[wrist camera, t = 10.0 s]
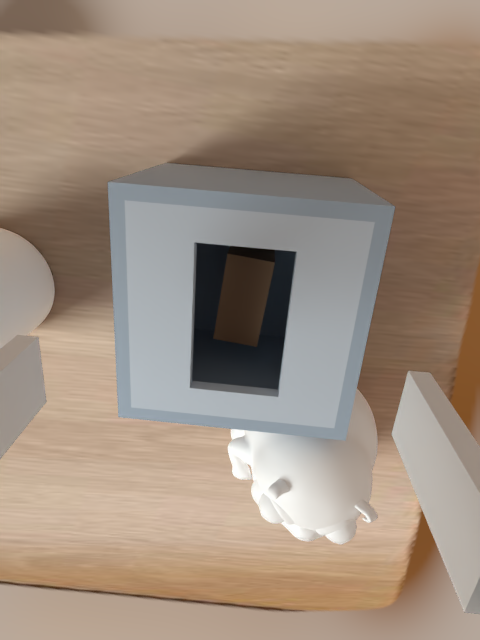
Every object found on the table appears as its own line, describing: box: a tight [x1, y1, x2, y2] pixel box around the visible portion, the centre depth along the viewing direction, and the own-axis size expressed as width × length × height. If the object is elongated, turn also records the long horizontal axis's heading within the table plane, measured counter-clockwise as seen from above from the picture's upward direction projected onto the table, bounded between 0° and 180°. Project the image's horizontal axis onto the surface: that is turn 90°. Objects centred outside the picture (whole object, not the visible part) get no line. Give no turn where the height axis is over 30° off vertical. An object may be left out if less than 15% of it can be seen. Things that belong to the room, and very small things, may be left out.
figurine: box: [228, 389, 378, 544], centre depth 29 cm, size 10×10×12 cm
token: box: [213, 246, 275, 347], centre depth 27 cm, size 2×5×7 cm, turn 170°
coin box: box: [108, 163, 395, 441], centre depth 26 cm, size 12×12×11 cm
